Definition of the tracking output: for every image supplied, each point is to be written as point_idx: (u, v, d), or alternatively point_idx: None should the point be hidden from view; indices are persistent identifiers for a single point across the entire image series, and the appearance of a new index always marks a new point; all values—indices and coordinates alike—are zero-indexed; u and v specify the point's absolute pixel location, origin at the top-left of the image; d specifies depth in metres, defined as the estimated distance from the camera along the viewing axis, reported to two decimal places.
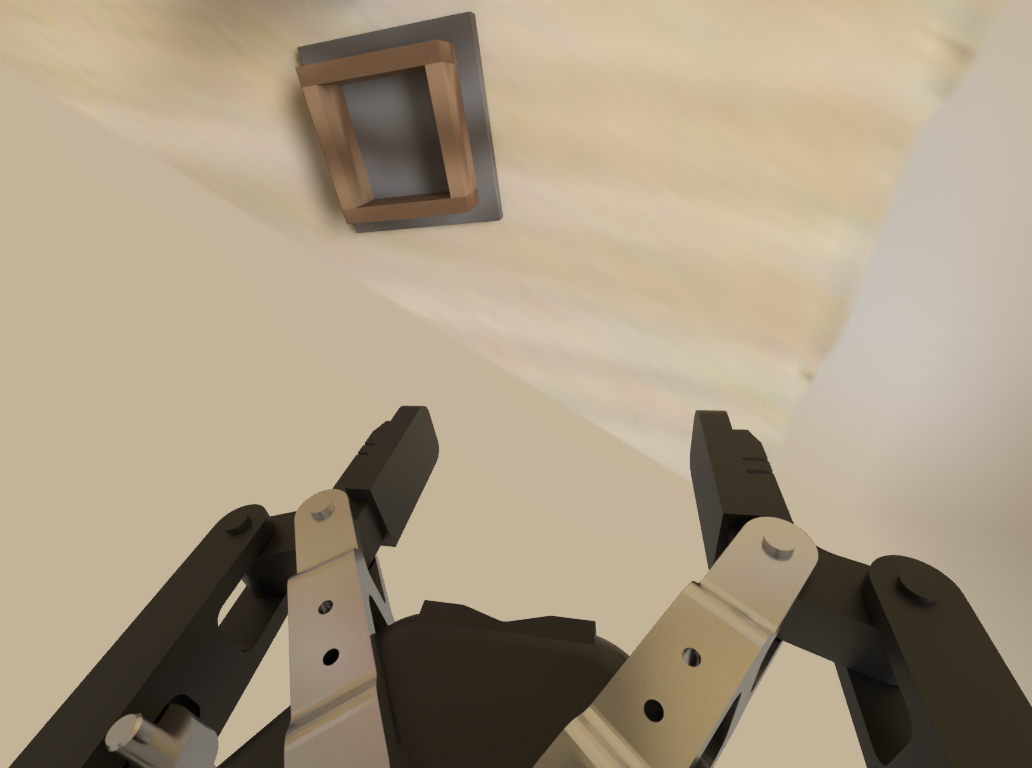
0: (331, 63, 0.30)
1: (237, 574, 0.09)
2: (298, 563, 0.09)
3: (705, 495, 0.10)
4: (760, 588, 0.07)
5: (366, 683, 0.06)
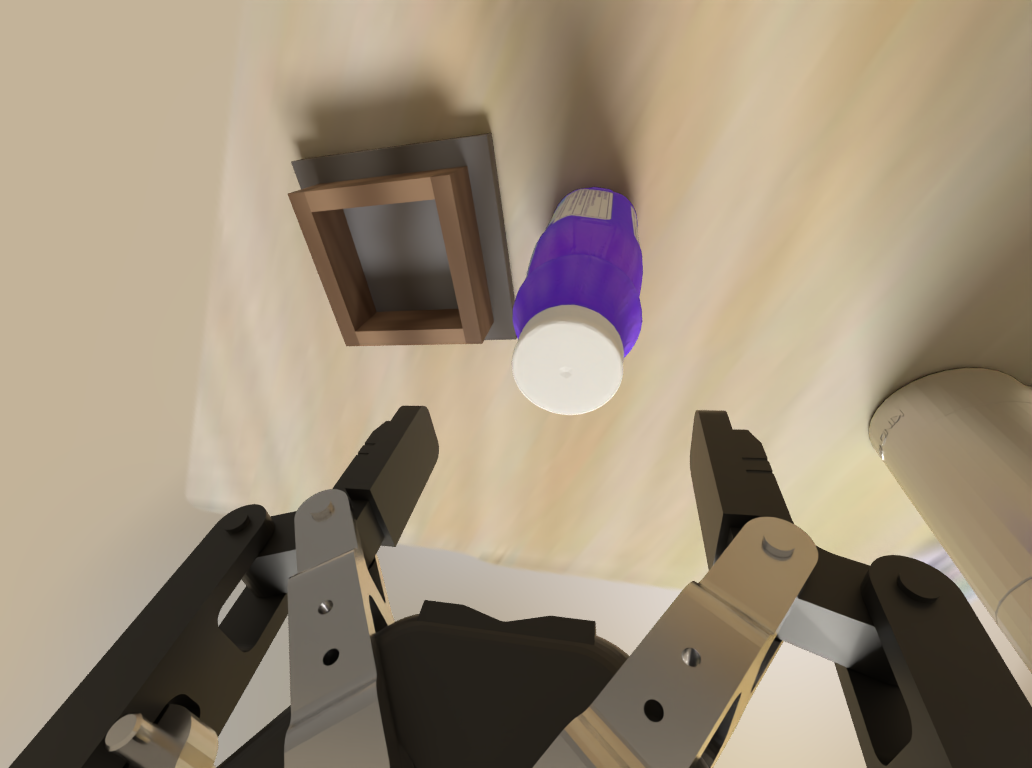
0: (456, 226, 0.26)
1: (237, 574, 0.09)
2: (298, 564, 0.09)
3: (705, 495, 0.10)
4: (761, 588, 0.07)
5: (366, 683, 0.06)
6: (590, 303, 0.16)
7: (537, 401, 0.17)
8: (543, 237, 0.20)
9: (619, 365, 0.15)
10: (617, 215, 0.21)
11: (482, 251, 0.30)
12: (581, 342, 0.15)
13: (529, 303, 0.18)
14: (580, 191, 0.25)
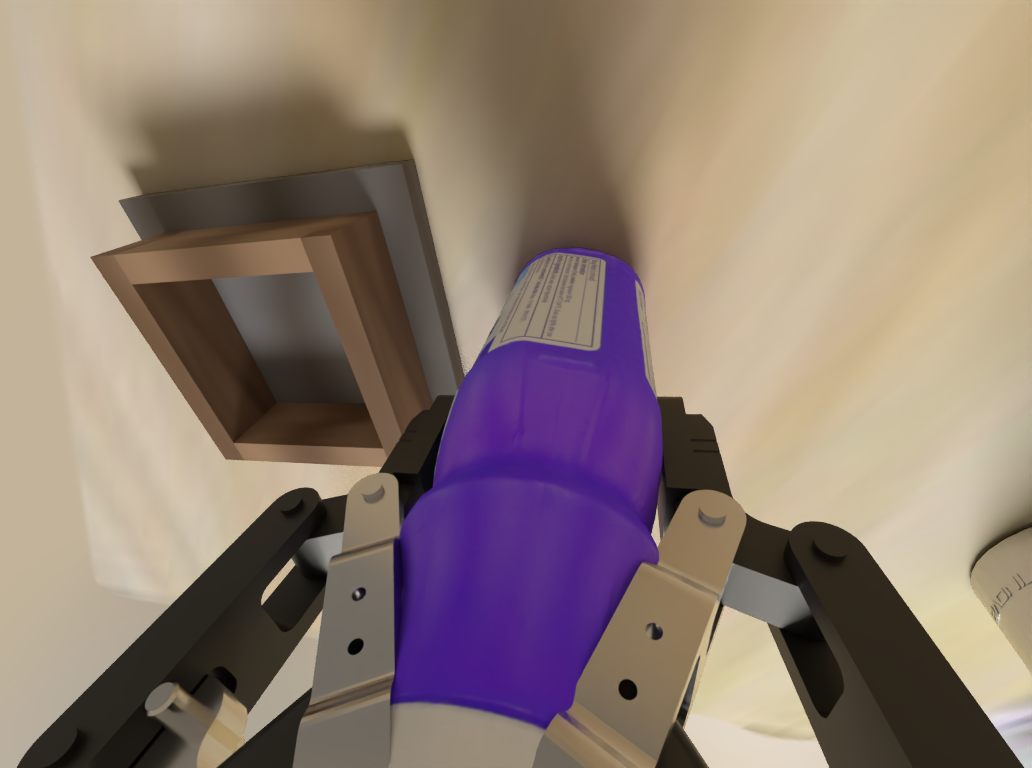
0: (354, 313, 0.16)
1: (284, 556, 0.09)
2: (344, 543, 0.09)
3: None
4: (703, 556, 0.08)
5: (366, 683, 0.06)
6: (540, 682, 0.06)
7: None
8: (466, 387, 0.10)
9: None
10: (613, 331, 0.11)
11: (412, 332, 0.20)
12: None
13: (410, 588, 0.08)
14: (552, 259, 0.15)
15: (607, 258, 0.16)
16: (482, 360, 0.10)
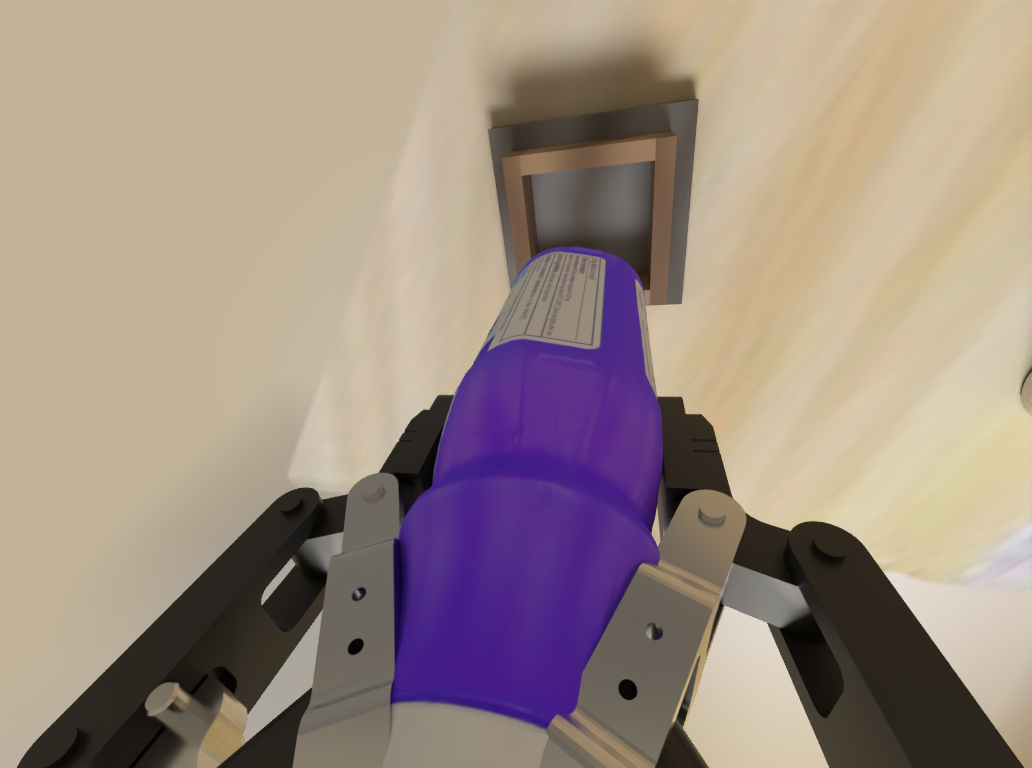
0: (670, 187, 0.28)
1: (284, 557, 0.09)
2: (344, 542, 0.09)
3: None
4: (703, 556, 0.08)
5: (366, 683, 0.06)
6: (540, 681, 0.06)
7: None
8: (465, 386, 0.10)
9: None
10: (613, 329, 0.11)
11: None
12: None
13: (410, 587, 0.08)
14: (552, 258, 0.15)
15: (607, 257, 0.16)
16: (482, 359, 0.10)
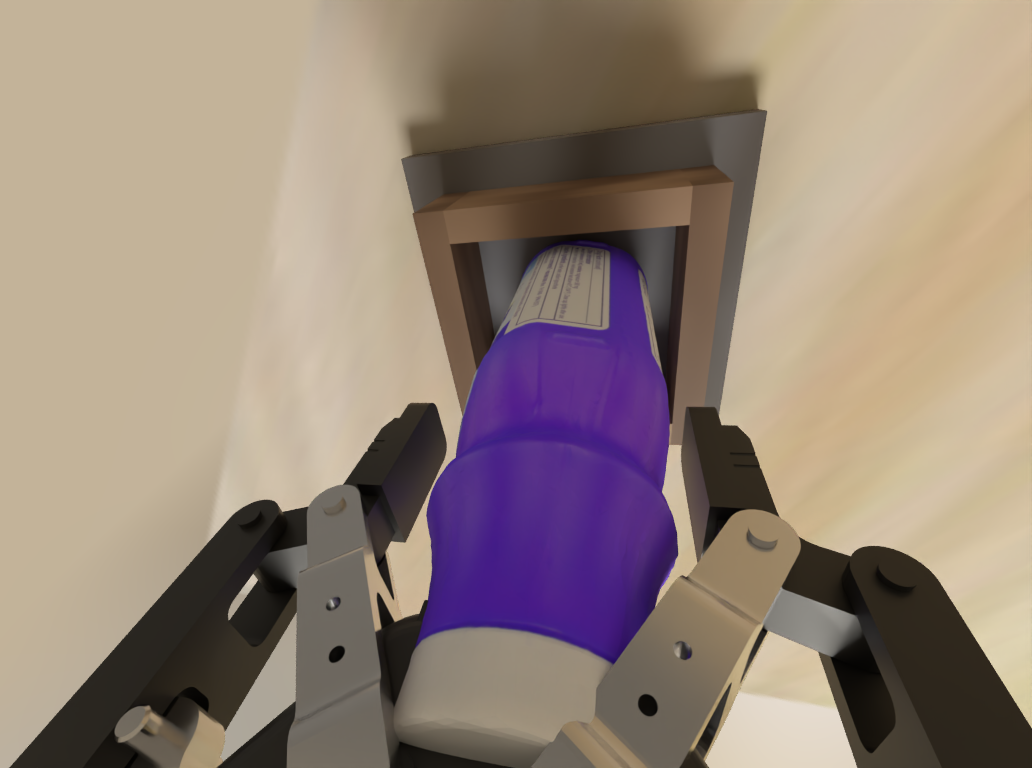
0: (716, 271, 0.15)
1: (248, 569, 0.09)
2: (309, 558, 0.09)
3: (694, 489, 0.10)
4: (747, 580, 0.07)
5: (366, 683, 0.06)
6: (569, 608, 0.07)
7: None
8: (485, 366, 0.11)
9: None
10: (620, 313, 0.12)
11: None
12: None
13: (444, 542, 0.08)
14: (559, 251, 0.16)
15: (611, 249, 0.17)
16: (499, 341, 0.11)
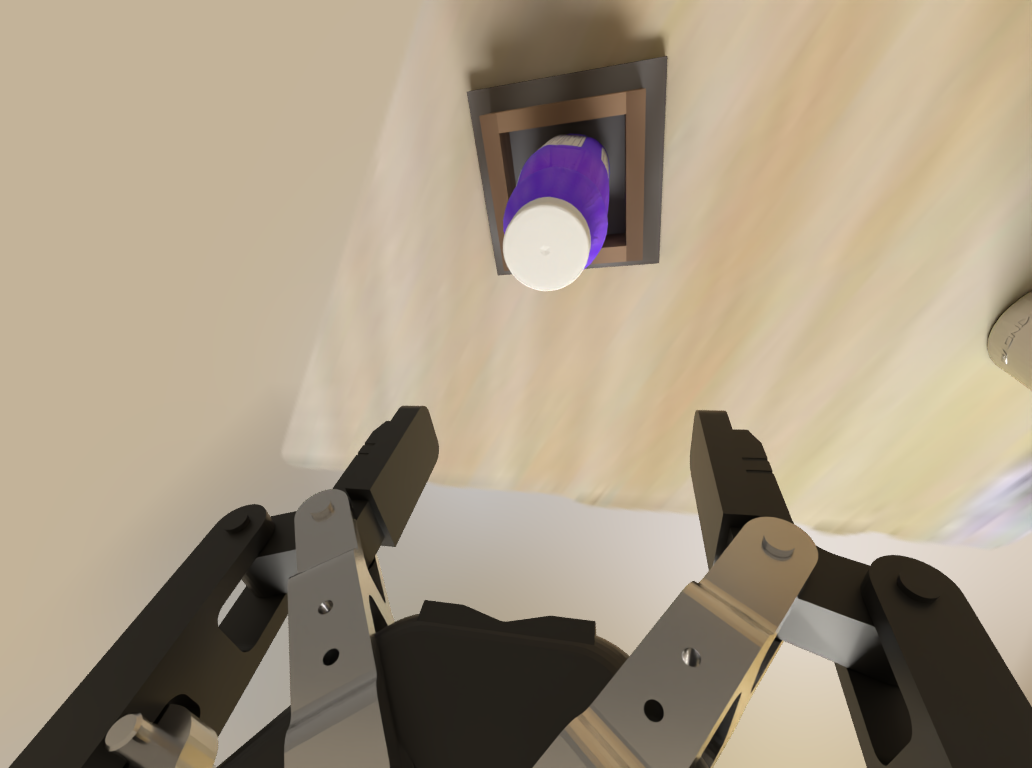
0: (642, 140, 0.29)
1: (237, 574, 0.09)
2: (298, 564, 0.09)
3: (705, 495, 0.10)
4: (761, 589, 0.07)
5: (366, 683, 0.06)
6: (562, 197, 0.20)
7: (524, 280, 0.21)
8: (526, 163, 0.24)
9: (585, 240, 0.19)
10: (587, 145, 0.25)
11: None
12: (555, 223, 0.19)
13: (515, 207, 0.22)
14: (558, 135, 0.30)
15: None
16: (531, 155, 0.25)
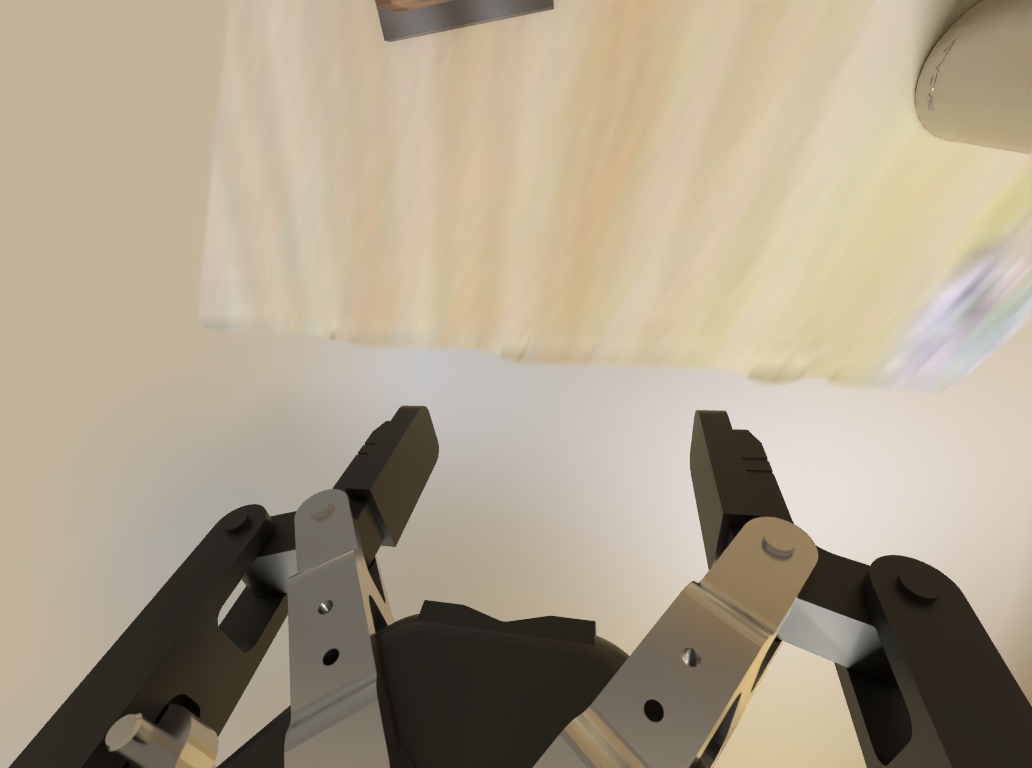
0: None
1: (237, 574, 0.09)
2: (298, 563, 0.09)
3: (705, 495, 0.10)
4: (760, 588, 0.07)
5: (366, 683, 0.06)
6: None
7: None
8: None
9: None
10: None
11: None
12: None
13: None
14: None
15: None
16: None
